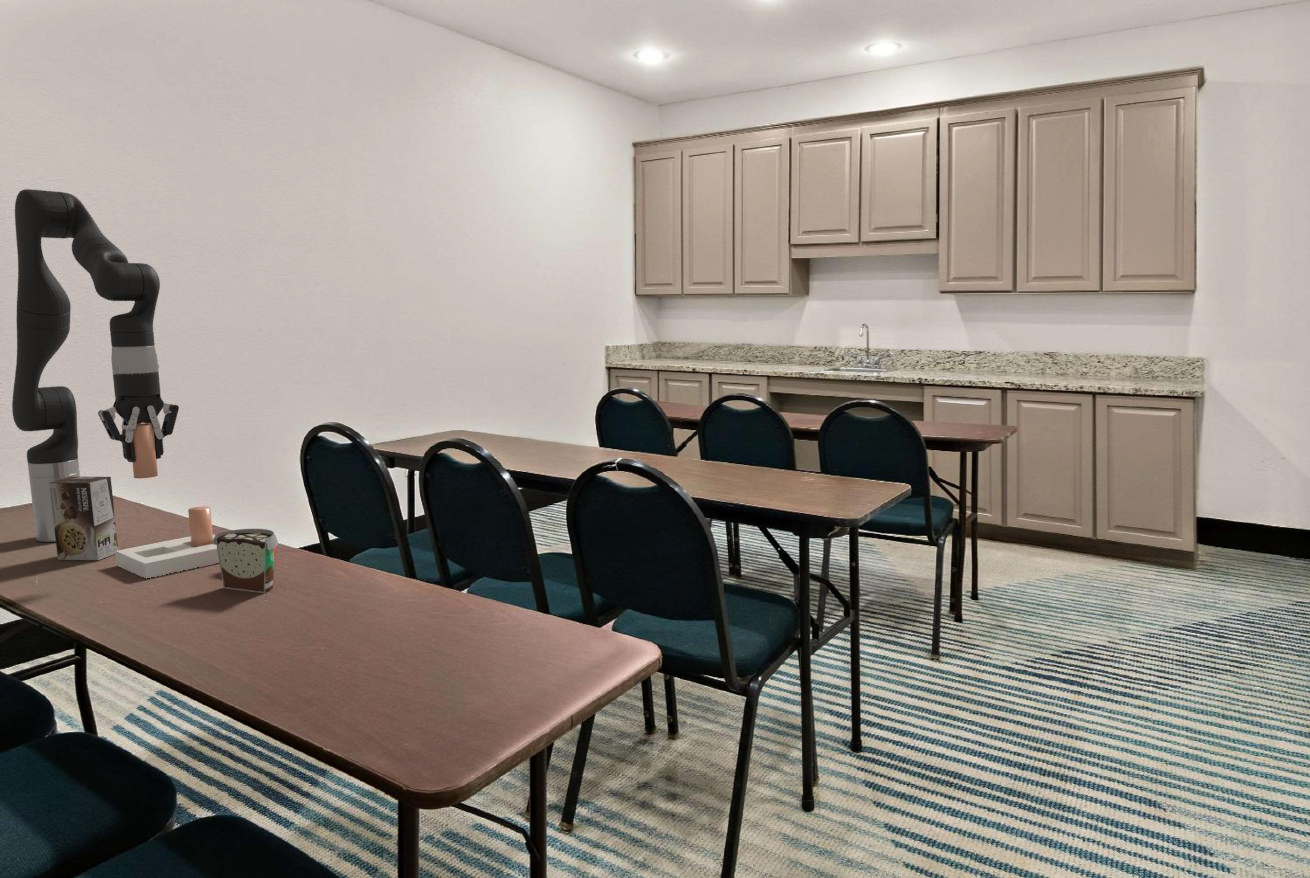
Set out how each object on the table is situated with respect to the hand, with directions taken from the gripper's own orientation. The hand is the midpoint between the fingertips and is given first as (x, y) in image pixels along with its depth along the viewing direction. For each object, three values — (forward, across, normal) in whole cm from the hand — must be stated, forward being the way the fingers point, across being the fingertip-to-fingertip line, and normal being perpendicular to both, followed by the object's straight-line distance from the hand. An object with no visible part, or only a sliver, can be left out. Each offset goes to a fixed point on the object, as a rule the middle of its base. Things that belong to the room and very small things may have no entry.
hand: (144, 459), depth 170 cm
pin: (+3, 0, 0) cm, 3 cm away
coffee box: (+22, +5, -19) cm, 29 cm away
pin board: (+21, -5, 0) cm, 22 cm away
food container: (+22, -7, +27) cm, 35 cm away
